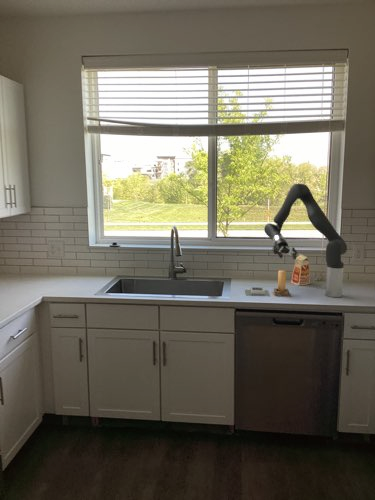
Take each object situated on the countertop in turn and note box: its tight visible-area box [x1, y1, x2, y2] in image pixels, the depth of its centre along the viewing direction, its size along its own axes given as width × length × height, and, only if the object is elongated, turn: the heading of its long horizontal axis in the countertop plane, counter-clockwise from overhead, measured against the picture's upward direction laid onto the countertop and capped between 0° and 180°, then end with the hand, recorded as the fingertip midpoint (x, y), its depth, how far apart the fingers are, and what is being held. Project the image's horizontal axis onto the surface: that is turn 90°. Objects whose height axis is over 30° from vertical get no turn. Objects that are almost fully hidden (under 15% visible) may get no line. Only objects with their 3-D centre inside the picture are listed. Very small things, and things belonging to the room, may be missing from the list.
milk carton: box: [290, 253, 311, 286], centre depth 275 cm, size 9×9×20 cm
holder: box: [271, 287, 292, 298], centre depth 246 cm, size 10×10×4 cm
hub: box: [244, 286, 271, 297], centre depth 249 cm, size 14×14×4 cm
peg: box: [277, 270, 287, 292], centre depth 245 cm, size 4×4×14 cm
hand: (288, 257), depth 247 cm, fingers open, 8 cm apart
